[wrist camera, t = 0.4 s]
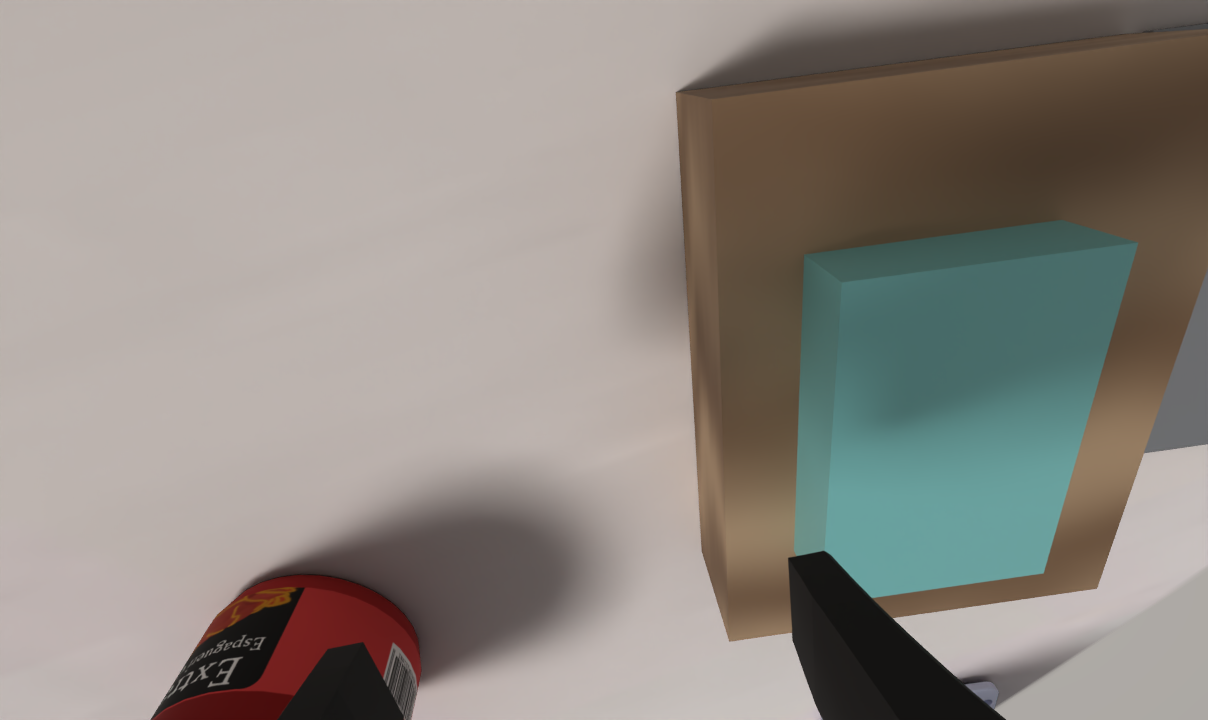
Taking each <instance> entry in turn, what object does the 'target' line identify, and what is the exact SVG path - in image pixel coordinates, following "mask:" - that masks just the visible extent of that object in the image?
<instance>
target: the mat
mask: <svg viewBox="0 0 1208 720" xmlns="http://www.w3.org/2000/svg"><path fill="white" fill-rule="evenodd" d="M1200 29H1208V23H1206V24H1199V25H1191V26H1183V27H1175V28H1168V29H1160V30H1152V31H1145V32H1143V33H1150V32H1167V31H1184V30H1200ZM1205 444H1208V269H1207V272H1206V275H1205V278H1204V280H1203V283H1202V286H1201V289H1200V292H1199V295H1198V298H1197V301H1196V304H1195V306H1194V309H1193V312H1192V315H1191V318H1190V321H1189V324H1188V327H1187V330H1186V332H1185V335H1184V338H1183V341H1182V344H1181V347H1180V350H1179V353H1178V356H1177V358H1176V361H1175V364H1174V367H1173V370H1172V373H1171V376H1170V379H1169V382H1168V384H1167V387H1166V390H1165V393H1164V396H1163V399H1162V402H1161V405H1160V408H1159V411H1158V413H1157V416H1156V419H1155V422H1154V425H1153V428H1152V431H1151V434H1150V437H1149V439H1148V442H1147V445H1146V448H1145V451H1144V453H1148V452H1156V451H1163V450H1170V449H1177V448H1184V447H1191V446H1198V445H1205Z"/></svg>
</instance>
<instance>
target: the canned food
mask: <svg viewBox="0 0 1208 720" xmlns="http://www.w3.org/2000/svg"><path fill="white" fill-rule="evenodd" d="M360 642H363V643H364V644H365V646H366V648H367V650H368V652H369V653H370V655H371V657H372V659H373V661H374V663H375V664H376V666H377V668H378V670H379V672H380V674H381V675H382V677H383V679H384V681H385V683H386V684H387V686H388V688H389V690H390V692H391V694H392V695H393V697H394V699H395V701H396V703H397V704H398V706H399V708H400V710H401V712H402V714H403V715H404V720H411V718H412V713H413V709H414V704H415V700H416V695H417V690H418V686H419V681H420V676H421V662H420V652H419V643H418V638H417V636H416V633H415V631H414V628H413V626H412V625H411V623H410V622H409V620H408V619H407V618H406V616H405V615H404V614H403V613H402V612H401V611H400V610H399V609H398V608H397V607H396V606H395V605H394V604H393V603H391V602H390V601H388V600H387V599H385V598H384V597H382V596H381V595H379V594H378V593H376V592H374V591H372V590H370V589H368V588H365V587H363V586H361V585H359V584H356V583H352V582H349V581H346V580H342V579H339V578H332V577H326V576H320V575H294V576H286V577H278V578H275V579H272V580H268V581H265V582H261V583H259V584H257V585H255V586H253V587H251V588H249V589H248V590H246V591H244V592H243V593H242V594H241V595H240V596H239V597H237V598H236V599H235V600H234V601H233V602H231V603H230V604H229V605H228V606H227V607H226V608H225V609H223V610H222V611H221V612H220V613H219V614H218V615H217V616H216V617H215V619H214V620H213V622H212V623H211V624H210V626H209V627H208V629H207V631H206V632H205V634H204V635H203V637H202V639H201V640H200V642H199V643H198V645H197V647H196V648H195V650H194V651H193V653H192V655H191V656H190V658H189V659H188V661H187V662H186V664H185V666H184V667H183V669H182V670H181V672H180V674H179V675H178V677H177V678H176V680H175V682H174V683H173V685H172V686H171V688H170V690H169V691H168V693H167V694H166V696H165V698H164V699H163V701H162V702H161V704H160V706H159V707H158V709H157V710H156V712H155V714H154V715H153V717H152V718H151V720H277V719H278V718H279V716H280V715H281V714H282V712H283V711H284V709H285V708H286V706H287V705H288V704H289V702H290V701H291V699H292V698H293V697H294V695H295V694H296V692H297V691H298V689H299V688H300V687H301V685H302V684H303V682H304V681H305V680H306V678H307V677H308V675H309V674H310V673H311V671H312V670H313V668H314V667H315V666H316V664H317V663H318V661H319V660H320V659H321V657H322V656H323V655H324V653H325V652H326V651H327V649H330V648H335V647H340V646H345V645H350V644H355V643H360Z"/></svg>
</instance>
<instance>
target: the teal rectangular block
mask: <svg viewBox="0 0 1208 720" xmlns="http://www.w3.org/2000/svg"><path fill="white" fill-rule="evenodd" d="M1137 246H1138V242H1135V241H1131V240H1128V239H1125V238H1121V237H1118V236H1115V235H1111V234H1108V233H1105V232H1101V231H1098V230H1095V229H1091V228H1088V227H1085V226H1081V225H1078V224H1075V223H1071V222H1068V221H1064V220H1057V221H1050V222H1042V223H1035V224H1027V225H1020V226H1013V227H1005V228H998V229H990V230H983V231H975V232H968V233H960V234H953V235H946V236H938V237H931V238H923V239H916V240H908V241H901V242H893V243H886V244H879V245H871V246H864V247H856V248H849V249H841V250H834V251H826V252H819V253H812V254H804V273H803V302H802V331H801V360H800V389H799V418H798V447H797V476H796V505H795V534H794V552H795V554H796V556H799V555H804V554H809V553H815V552H820V551H826V552H827V553H829V554H830V555H832V557H833V558H834V559H835V560H836V561H837V562H838V563H839V564H840V565H841V566H842V567H843V569H844V570H845V571H846V572H847V573H848V574H849V575H850V576H851V577H852V578H853V579H854V580H855V581H856V582H857V583H858V584H859V585H860V586H861V587H862V588H863V589H864V590H865V591H866V592H867V594H868V595H869V596H870V597H871V598H876V597H883V596H890V595H897V594H904V593H910V592H917V591H924V590H931V589H938V588H945V587H952V586H959V585H966V584H973V583H980V582H987V581H994V580H1001V579H1008V578H1015V577H1022V576H1029V575H1036V574H1043V573H1044V570H1045V567H1046V563H1047V560H1048V556H1049V553H1050V549H1051V546H1052V542H1053V539H1054V535H1055V532H1056V528H1057V525H1058V521H1059V518H1060V514H1061V511H1062V507H1063V504H1064V500H1065V497H1066V493H1067V490H1068V486H1069V483H1070V480H1071V476H1072V473H1073V469H1074V466H1075V462H1076V459H1077V455H1078V452H1079V448H1080V445H1081V441H1082V438H1083V434H1084V431H1085V427H1086V424H1087V420H1088V417H1089V413H1090V410H1091V406H1092V403H1093V399H1094V396H1095V392H1096V389H1097V385H1098V382H1099V378H1100V375H1101V371H1102V368H1103V364H1104V361H1105V357H1106V354H1107V351H1108V347H1109V344H1110V340H1111V337H1112V333H1113V330H1114V326H1115V323H1116V319H1117V316H1118V312H1119V309H1120V305H1121V302H1122V298H1123V295H1124V291H1125V288H1126V284H1127V281H1128V277H1129V274H1130V270H1131V267H1132V263H1133V260H1134V256H1135V253H1136V249H1137Z"/></svg>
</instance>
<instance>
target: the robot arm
mask: <svg viewBox="0 0 1208 720" xmlns="http://www.w3.org/2000/svg"><path fill="white" fill-rule="evenodd" d="M788 568H789V586H790V603H791V621H792V638H793V643H794V645H795V648H796V651H797V654H798V657H799V660H800V663H801V665H802V668H803V671H804V674H805V677H806V679H807V682H808V685H809V688H810V690H811V693H812V696H813V699H814V701H815V704H816V706H817V708H818V711H819V713H820V715H821V720H1006V719H1005V718H1003V717H1002V716H1001V715H1000V714H999V713H997V712H996V711H995V710H994V709H995V705H996V701H997V698H998V694H999V691H998V689H997V688H996V687H995V685H994V684H993V683H992V682H988V681H985V682H978V683H971V684H963V683H962V682H961V681H960V680H959V679H958V678H957V677H955V676H954V675H953V674H952V673H951V672H950V671H949V670H947V669H946V668H945V667H944V666H943V665H942V664H941V663H940V662H939V661H938V660H937V659H935V658H934V657H933V656H932V655H931V654H930V653H929V652H928V651H927V650H926V649H925V648H923V647H922V646H921V645H920V644H919V643H918V642H917V641H916V640H915V639H914V638H913V637H912V636H910V635H909V634H908V633H907V632H906V631H905V630H904V629H903V628H902V627H901V626H900V625H899V624H898V623H897V622H896V621H895V620H894V619H893V618H892V617H891V616H890V615H889V614H888V613H887V612H886V611H885V610H884V609H883V608H881V607H880V606H879V605H878V604H877V603H876V602H875V601H874V600H873V599H872V598H871V597H870V596H869V595H868V594H867V592H866V591H865V590H864V589H863V588H862V587H861V586H860V585H859V584H858V583H857V582H856V581H855V580H854V579H853V578H852V577H851V576H850V575H849V574H848V573H847V572H846V571H845V570H844V569H843V567H842V566H841V565H840V564H839V563H838V562H837V561H836V560H835V559H834V558H833V557H832V555H830V554H829V553H827V552H826V551H820V552H815V553H809V554H804V555H799V556H794V557H789V558H788ZM277 720H404V715H403V714H402V712H401V710H400V708H399V706H398V704H397V703H396V701H395V699H394V697H393V695H392V694H391V692H390V690H389V688H388V686H387V684H386V683H385V681H384V679H383V677H382V675H381V674H380V672H379V670H378V668H377V666H376V664H375V663H374V661H373V659H372V657H371V655H370V653H369V652H368V650H367V648H366V646H365V644H364V643H363V642H360V643H355V644H350V645H345V646H340V647H335V648H330V649H327V651H326V652H325V653H324V655H323V656H322V657H321V659H320V660H319V661H318V663H317V664H316V666H315V667H314V668H313V670H312V671H311V673H310V674H309V675H308V677H307V678H306V680H305V681H304V682H303V684H302V685H301V687H300V688H299V689H298V691H297V692H296V694H295V695H294V697H293V698H292V699H291V701H290V702H289V704H288V705H287V706H286V708H285V709H284V711H283V712H282V714H281V715H280V716H279V718H278V719H277Z"/></svg>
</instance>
